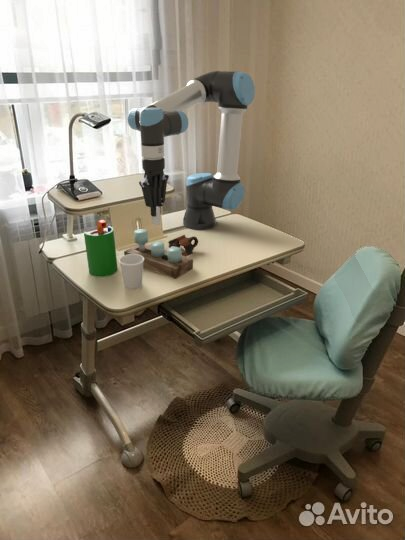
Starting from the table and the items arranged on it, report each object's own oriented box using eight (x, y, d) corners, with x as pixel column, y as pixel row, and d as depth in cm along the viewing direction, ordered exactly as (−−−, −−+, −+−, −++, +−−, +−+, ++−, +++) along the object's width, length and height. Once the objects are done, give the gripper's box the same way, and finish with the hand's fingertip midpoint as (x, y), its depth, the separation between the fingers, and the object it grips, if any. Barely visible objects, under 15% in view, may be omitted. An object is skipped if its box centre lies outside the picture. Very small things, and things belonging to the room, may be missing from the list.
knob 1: (141, 247, 168) (140, 228, 164) (151, 250, 166) (150, 231, 162) (132, 251, 164) (131, 232, 161) (142, 254, 162) (141, 235, 158)
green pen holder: (107, 262, 163) (102, 212, 154) (123, 269, 158) (119, 218, 149) (85, 272, 156) (78, 220, 147) (101, 279, 151) (95, 226, 142)
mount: (142, 252, 172) (142, 242, 171) (192, 268, 159) (192, 258, 158) (124, 260, 165) (124, 251, 163) (175, 278, 152) (175, 268, 150)
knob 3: (173, 265, 161) (173, 245, 158) (184, 269, 159) (184, 249, 155) (165, 270, 158) (164, 250, 154) (175, 274, 155) (175, 253, 151)
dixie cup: (128, 294, 143) (125, 266, 138) (116, 284, 149) (114, 257, 144) (150, 286, 147) (148, 260, 142) (138, 277, 153) (136, 251, 148)
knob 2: (157, 260, 165) (156, 240, 162) (167, 263, 163) (167, 243, 159) (148, 264, 162) (147, 245, 158) (158, 268, 159) (158, 248, 156)
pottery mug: (177, 261, 166) (168, 241, 166) (172, 261, 176) (163, 243, 175) (204, 248, 169) (196, 229, 169) (198, 250, 179) (190, 231, 178)
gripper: (148, 162, 138) (152, 231, 148) (174, 155, 147) (175, 221, 158) (131, 159, 142) (136, 227, 152) (157, 152, 151) (160, 216, 162)
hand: (156, 223), depth 155 cm, fingers closed
